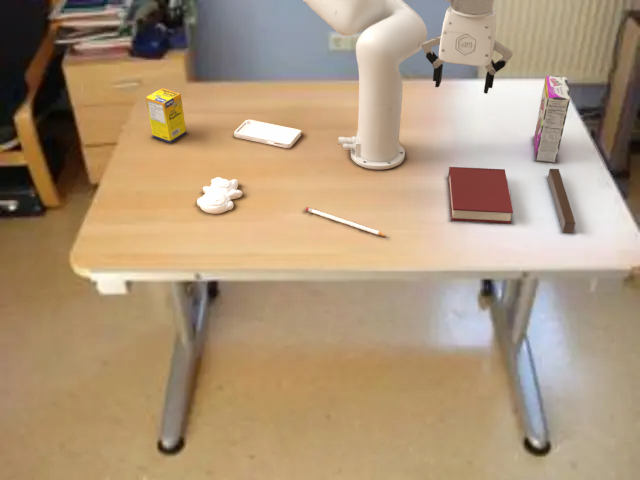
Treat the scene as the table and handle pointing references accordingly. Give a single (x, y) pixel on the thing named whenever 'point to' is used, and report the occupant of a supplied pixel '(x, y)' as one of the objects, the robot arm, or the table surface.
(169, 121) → the supplement box
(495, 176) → the book
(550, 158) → the candy bar box
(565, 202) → the rail
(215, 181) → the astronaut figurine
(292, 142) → the phone case
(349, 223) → the pencil
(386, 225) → the table surface
